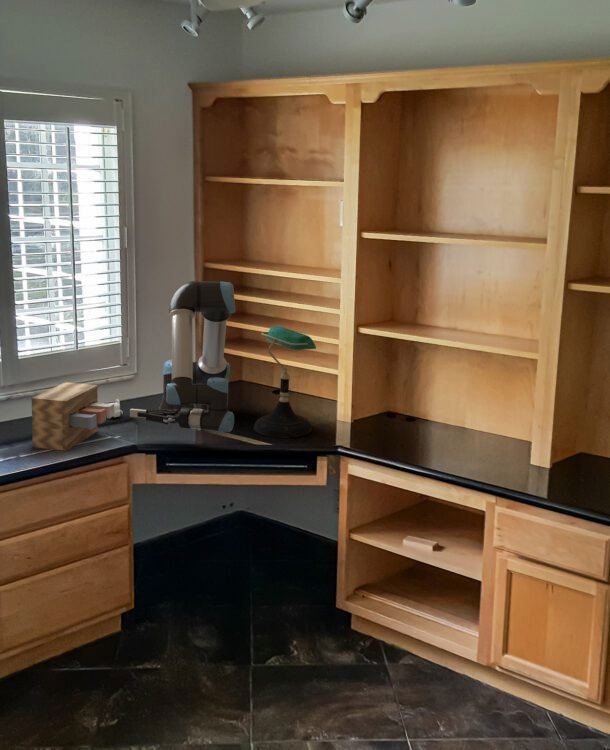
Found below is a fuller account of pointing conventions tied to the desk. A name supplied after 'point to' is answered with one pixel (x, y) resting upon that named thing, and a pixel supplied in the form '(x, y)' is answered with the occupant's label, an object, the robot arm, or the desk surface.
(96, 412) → the brick key
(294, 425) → the banker's lamp
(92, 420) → the slate key
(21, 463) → the desk surface
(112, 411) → the white key
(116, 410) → the elephant figurine
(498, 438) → the desk surface
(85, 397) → the wooden box
